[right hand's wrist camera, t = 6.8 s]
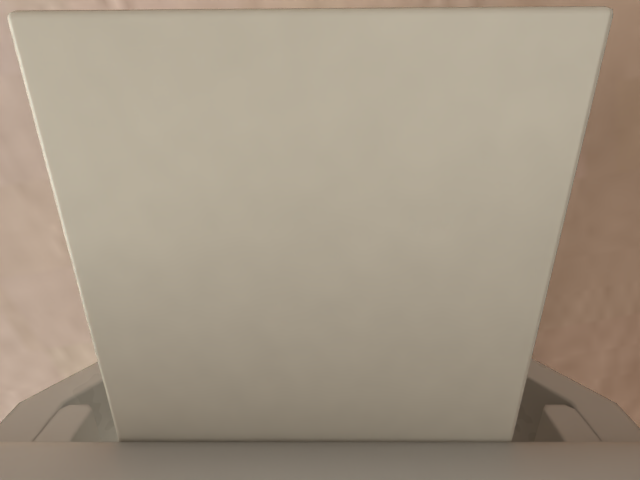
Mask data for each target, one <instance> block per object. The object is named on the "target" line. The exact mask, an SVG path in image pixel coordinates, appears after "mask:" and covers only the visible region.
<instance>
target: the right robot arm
mask: <svg viewBox="0 0 640 480" xmlns="http://www.w3.org/2000/svg"><path fill="white" fill-rule="evenodd" d="M0 480H640V428H639V427H638V426H637V425H636V424H635V423H634V422H633V421H632V420H631V419H630V417H629V416H628V415H627V414H626V413H625V412H624V411H623V410H622V409H621V408H620V407H619V406H618V405H617V404H616V403H615V402H613V401H611V400H609V399H607V398H605V397H603V396H601V395H599V394H598V393H596V392H594V391H592V390H590V389H588V388H586V387H584V386H583V385H581V384H579V383H577V382H575V381H573V380H571V379H569V378H567V377H566V376H564V375H562V374H560V373H558V372H556V371H554V370H552V369H551V368H549V367H547V366H545V365H543V364H541V363H539V362H537V361H535V360H534V359H532V358H531V362H530V366H529V371H528V375H527V379H526V383H525V387H524V392H523V396H522V400H521V404H520V408H519V413H518V417H517V421H516V425H515V429H514V434H513V438H512V442H119V440H118V436H117V432H116V429H115V425H114V421H113V417H112V414H111V410H110V406H109V402H108V398H107V395H106V391H105V387H104V383H103V379H102V376H101V372H100V368H99V364H98V362H96V363H95V364H93V365H91V366H89V367H87V368H85V369H83V370H81V371H79V372H77V373H75V374H74V375H72V376H70V377H68V378H66V379H64V380H62V381H60V382H58V383H56V384H55V385H53V386H51V387H49V388H47V389H45V390H43V391H41V392H39V393H37V394H35V395H34V396H32V397H30V398H28V399H26V400H24V401H22V402H20V403H19V404H18V405H17V406H16V407H15V408H14V409H13V410H12V411H11V412H10V413H9V414H8V415H7V416H6V417H5V418H4V420H3V421H2V422H1V423H0Z"/></svg>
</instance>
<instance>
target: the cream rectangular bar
mask: <svg viewBox="0 0 640 480" xmlns="http://www.w3.org/2000/svg"><path fill="white" fill-rule="evenodd" d="M612 18H613V9H611V8H608V7H606V6H541V7H414V8H287V9H160V10H33V11H14V12H11V13H9V14H8V19H7V20H8V24H9V27H10V31H11V35H12V39H13V43H14V46H15V50H16V54H17V58H18V62H19V65H20V69H21V73H22V77H23V80H24V84H25V88H26V92H27V96H28V99H29V103H30V107H31V111H32V115H33V118H34V122H35V126H36V130H37V133H38V137H39V141H40V145H41V149H42V152H43V156H44V160H45V164H46V167H47V171H48V175H49V179H50V183H51V186H52V190H53V194H54V198H55V202H56V205H57V209H58V213H59V217H60V220H61V224H62V228H63V232H64V236H65V239H66V243H67V247H68V251H69V255H70V258H71V262H72V266H73V270H74V273H75V277H76V281H77V285H78V289H79V292H80V296H81V300H82V304H83V308H84V311H85V315H86V319H87V323H88V326H89V330H90V334H91V338H92V342H93V345H94V349H95V353H96V357H97V361H98V364H99V368H100V372H101V376H102V379H103V383H104V387H105V391H106V395H107V398H108V402H109V406H110V410H111V414H112V417H113V421H114V425H115V429H116V432H117V436H118V440H119V442H512V438H513V434H514V429H515V425H516V421H517V417H518V413H519V408H520V404H521V400H522V396H523V392H524V387H525V383H526V379H527V375H528V371H529V366H530V362H531V358H532V354H533V350H534V345H535V341H536V337H537V333H538V329H539V324H540V320H541V316H542V312H543V308H544V303H545V299H546V295H547V291H548V287H549V282H550V278H551V274H552V270H553V266H554V261H555V257H556V253H557V249H558V245H559V240H560V236H561V232H562V228H563V224H564V219H565V215H566V211H567V207H568V203H569V198H570V194H571V190H572V186H573V182H574V177H575V173H576V169H577V165H578V161H579V156H580V152H581V148H582V144H583V140H584V135H585V131H586V127H587V123H588V119H589V114H590V110H591V106H592V102H593V98H594V93H595V89H596V85H597V81H598V77H599V72H600V68H601V64H602V60H603V56H604V51H605V47H606V43H607V39H608V35H609V30H610V26H611V22H612Z"/></svg>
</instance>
